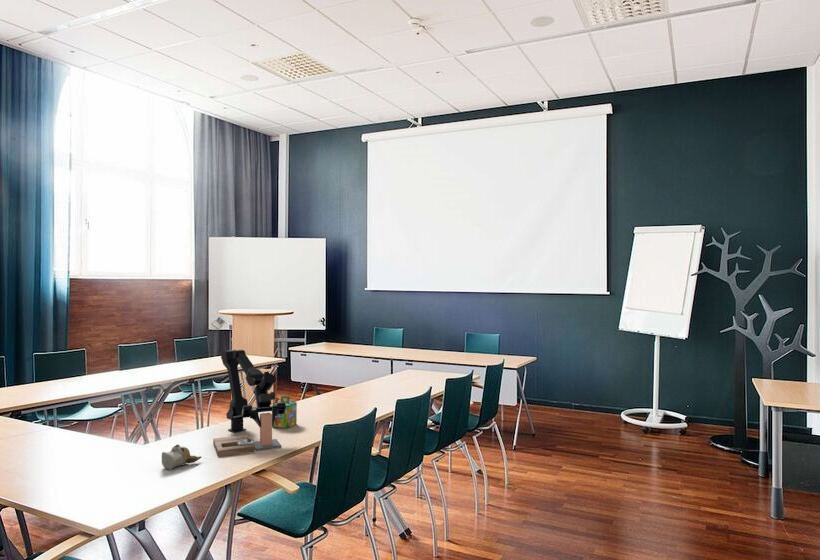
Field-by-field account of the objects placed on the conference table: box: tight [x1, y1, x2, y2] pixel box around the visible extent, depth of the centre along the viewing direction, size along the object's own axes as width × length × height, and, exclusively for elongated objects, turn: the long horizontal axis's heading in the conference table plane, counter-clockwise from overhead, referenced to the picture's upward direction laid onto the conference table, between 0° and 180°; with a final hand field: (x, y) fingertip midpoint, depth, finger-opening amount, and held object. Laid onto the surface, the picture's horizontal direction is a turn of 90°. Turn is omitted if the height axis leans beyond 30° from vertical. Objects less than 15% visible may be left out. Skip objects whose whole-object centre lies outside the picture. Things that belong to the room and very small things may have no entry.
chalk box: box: [272, 395, 298, 430], centre depth 288 cm, size 9×9×15 cm
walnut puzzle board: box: [212, 434, 256, 458], centre depth 251 cm, size 20×15×2 cm
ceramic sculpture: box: [161, 444, 202, 470], centre depth 228 cm, size 11×9×15 cm
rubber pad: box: [252, 438, 282, 452], centre depth 254 cm, size 11×11×1 cm
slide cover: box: [236, 437, 254, 446], centre depth 250 cm, size 8×6×2 cm
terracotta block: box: [259, 412, 273, 446], centre depth 254 cm, size 4×4×13 cm
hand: (266, 426), depth 253 cm, fingers open, 5 cm apart
